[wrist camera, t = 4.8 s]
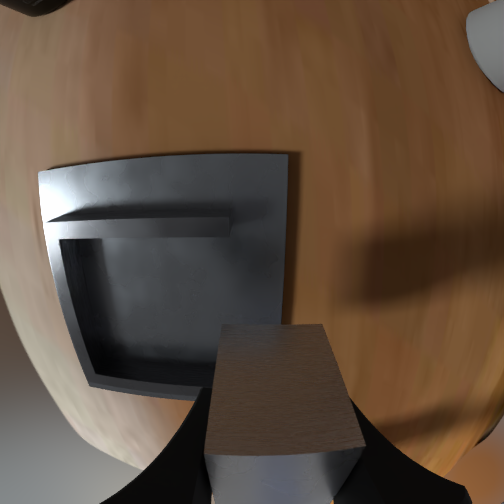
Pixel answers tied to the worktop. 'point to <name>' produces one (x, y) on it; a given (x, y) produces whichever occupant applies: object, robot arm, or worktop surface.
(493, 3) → the can
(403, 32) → the worktop surface
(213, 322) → the cradle
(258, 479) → the block
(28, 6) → the supplement bottle
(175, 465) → the robot arm
